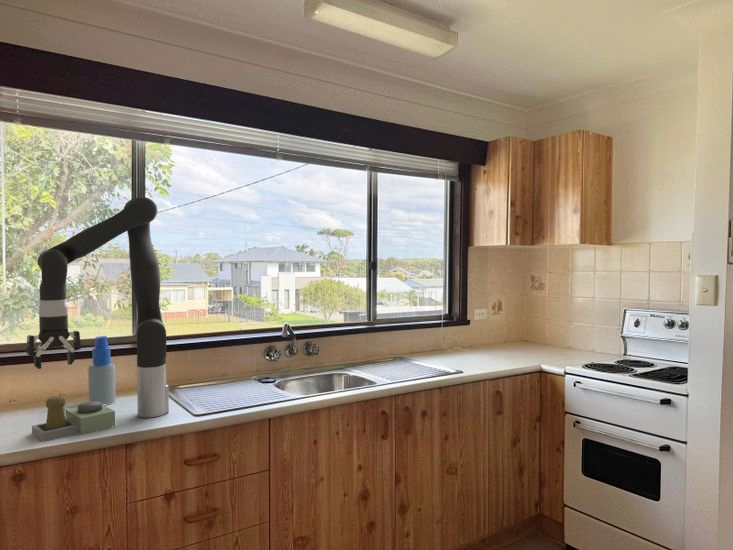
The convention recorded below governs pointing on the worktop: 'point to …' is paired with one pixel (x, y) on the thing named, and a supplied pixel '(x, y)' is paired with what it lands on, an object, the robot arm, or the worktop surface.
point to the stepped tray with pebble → (79, 421)
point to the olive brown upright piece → (55, 413)
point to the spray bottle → (101, 373)
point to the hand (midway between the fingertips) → (54, 366)
